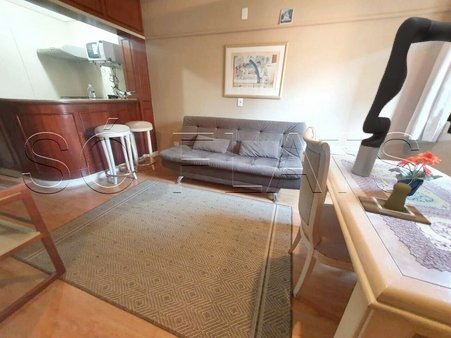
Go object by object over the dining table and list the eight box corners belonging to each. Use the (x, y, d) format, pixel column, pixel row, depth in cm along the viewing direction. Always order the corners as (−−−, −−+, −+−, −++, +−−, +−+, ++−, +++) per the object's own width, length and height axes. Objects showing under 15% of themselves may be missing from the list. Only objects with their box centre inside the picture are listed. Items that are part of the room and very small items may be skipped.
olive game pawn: (406, 213, 72) (419, 188, 68) (389, 211, 73) (400, 186, 68) (396, 205, 77) (407, 181, 73) (380, 203, 78) (390, 179, 74)
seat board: (357, 197, 84) (359, 193, 83) (413, 208, 77) (415, 204, 77) (365, 211, 73) (367, 207, 73) (430, 225, 67) (433, 220, 66)
